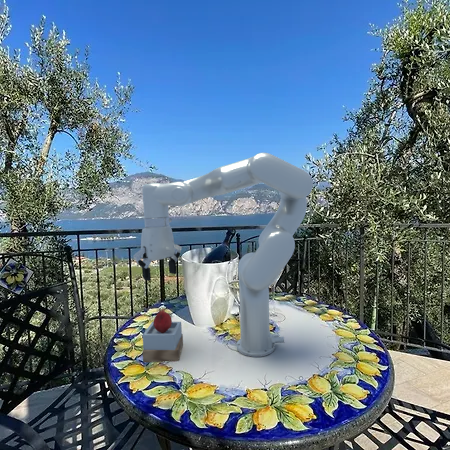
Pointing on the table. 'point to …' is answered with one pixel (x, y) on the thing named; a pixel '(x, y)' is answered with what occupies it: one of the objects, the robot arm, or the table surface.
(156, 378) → the table surface
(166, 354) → the walnut base block
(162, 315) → the onion
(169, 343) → the grey top block
